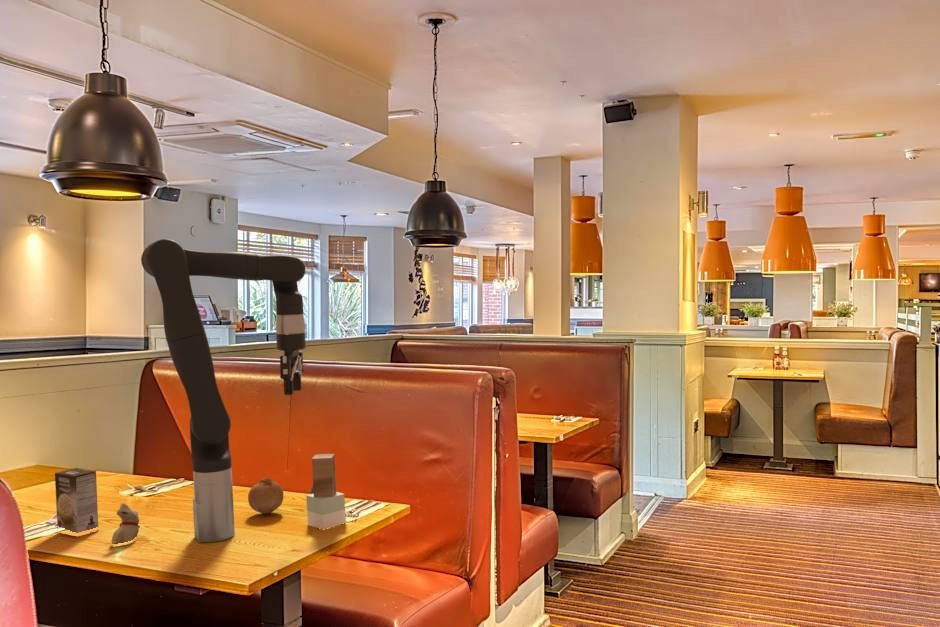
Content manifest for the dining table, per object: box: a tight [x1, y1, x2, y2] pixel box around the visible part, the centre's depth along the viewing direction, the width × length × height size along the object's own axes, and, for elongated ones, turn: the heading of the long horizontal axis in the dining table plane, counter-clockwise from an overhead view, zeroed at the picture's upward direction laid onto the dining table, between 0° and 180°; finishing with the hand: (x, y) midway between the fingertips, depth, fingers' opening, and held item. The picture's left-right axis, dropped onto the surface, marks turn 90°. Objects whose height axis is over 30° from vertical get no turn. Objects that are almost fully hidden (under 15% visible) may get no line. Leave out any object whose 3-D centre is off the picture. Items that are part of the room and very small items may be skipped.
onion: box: [247, 477, 284, 515], centre depth 216 cm, size 10×9×10 cm
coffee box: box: [54, 467, 99, 533], centre depth 206 cm, size 9×6×16 cm
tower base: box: [306, 508, 347, 530], centre depth 205 cm, size 7×7×4 cm
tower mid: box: [305, 491, 346, 515], centre depth 205 cm, size 7×7×4 cm
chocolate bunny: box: [111, 502, 141, 544], centre depth 196 cm, size 6×8×10 cm
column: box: [311, 453, 337, 497], centre depth 204 cm, size 5×5×10 cm
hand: (293, 392), depth 209 cm, fingers open, 8 cm apart
